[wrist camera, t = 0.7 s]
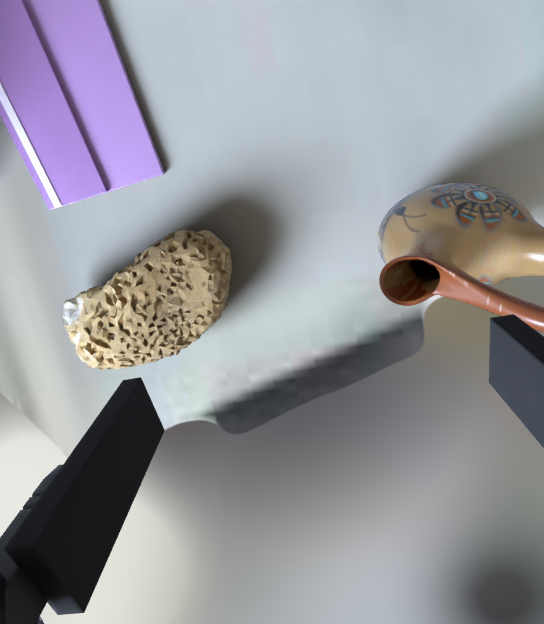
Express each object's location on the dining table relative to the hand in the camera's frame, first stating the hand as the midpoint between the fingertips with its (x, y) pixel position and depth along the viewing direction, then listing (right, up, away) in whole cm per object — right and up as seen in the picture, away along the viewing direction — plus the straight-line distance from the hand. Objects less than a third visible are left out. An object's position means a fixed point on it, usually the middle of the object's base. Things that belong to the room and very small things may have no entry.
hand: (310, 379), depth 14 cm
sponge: (-14, +5, +29) cm, 32 cm away
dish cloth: (-21, +23, +21) cm, 38 cm away
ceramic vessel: (+14, +12, +24) cm, 31 cm away
